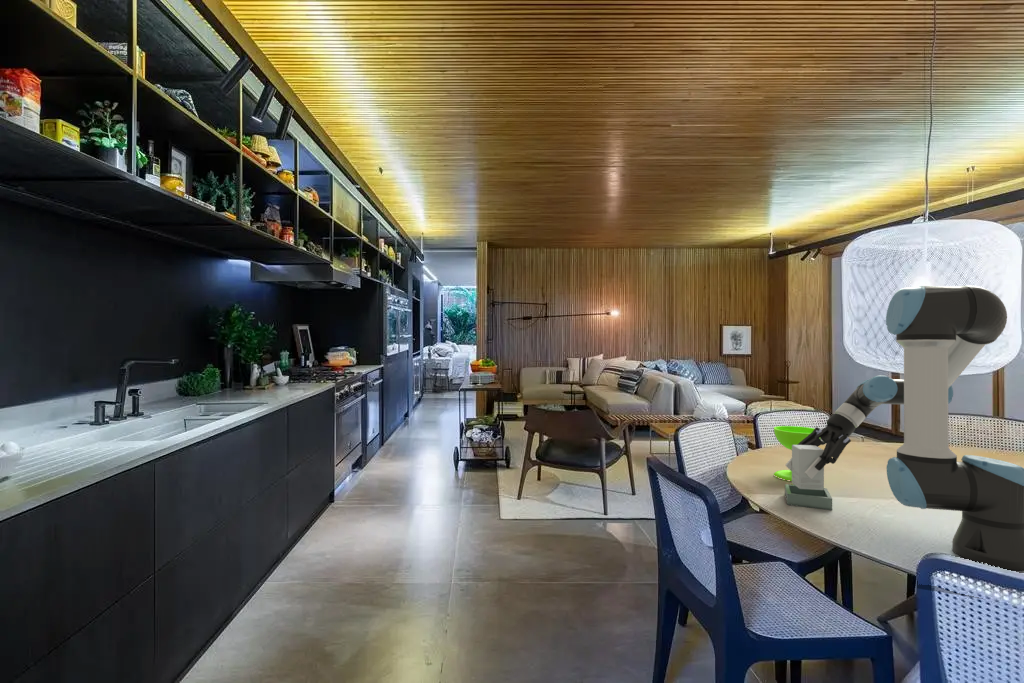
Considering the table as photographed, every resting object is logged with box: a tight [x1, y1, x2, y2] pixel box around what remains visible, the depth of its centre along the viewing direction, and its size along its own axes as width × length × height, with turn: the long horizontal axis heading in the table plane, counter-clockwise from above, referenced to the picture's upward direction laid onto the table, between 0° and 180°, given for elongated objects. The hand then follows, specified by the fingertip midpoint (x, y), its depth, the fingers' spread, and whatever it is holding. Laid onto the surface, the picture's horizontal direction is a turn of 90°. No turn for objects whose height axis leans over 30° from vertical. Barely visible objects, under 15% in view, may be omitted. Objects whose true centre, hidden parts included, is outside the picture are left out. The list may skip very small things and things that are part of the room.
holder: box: [784, 483, 833, 511], centre depth 167 cm, size 12×12×4 cm
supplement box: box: [791, 445, 825, 490], centre depth 168 cm, size 7×7×13 cm
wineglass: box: [773, 425, 815, 481], centre depth 197 cm, size 16×16×18 cm
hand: (797, 471), depth 167 cm, fingers closed on supplement box, 9 cm apart
